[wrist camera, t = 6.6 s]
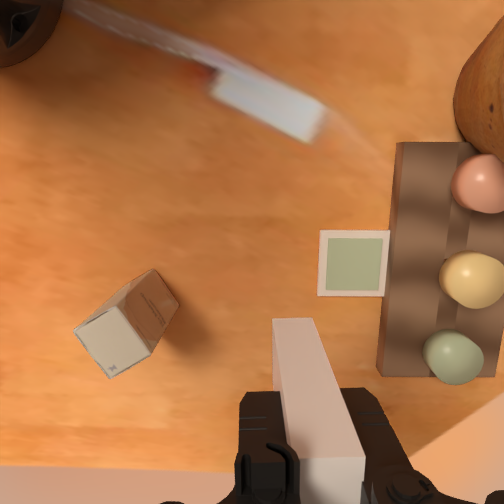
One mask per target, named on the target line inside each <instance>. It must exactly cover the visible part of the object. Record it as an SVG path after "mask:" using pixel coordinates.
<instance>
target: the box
mask: <svg viewBox="0 0 504 504" xmlns="http://www.w3.org/2000/svg"><path fill="white" fill-rule="evenodd" d="M178 307H179V304H178V302H177V301H176V300H175V298H174V297H173V295H172V294H171V292H170V291H169V289H168V288H167V286H166V285H165V283H164V282H163V280H162V279H161V278H160V276H159V275H158V273H157V272H156V271H155V269H152V270H150V271H148V272H146V273H144V274H143V275H141V276H139V277H138V278H136V279H134V280H133V281H131V282H129V283H128V284H126V285H125V286H123V287H122V288H121V289H120V290H119V291H117V292H116V293H115V294H114V295H113V296H112V297H111V298H110V299H109V300H107V301H106V302H105V303H104V304H103V305H102V306H100V307H99V308H98V309H97V310H96V311H95V312H94V313H93V314H91V315H90V316H89V317H88V318H87V319H86V320H84V321H83V322H82V323H81V324H80V325H79V326H77V327H76V328H75V329H74V330H73V332H74V334H75V336H76V337H77V338H78V340H79V341H80V342H81V344H82V345H83V346H84V348H85V349H86V350H87V352H88V353H89V354H90V355H91V357H92V358H93V359H94V360H95V362H96V363H97V364H98V366H99V367H100V368H101V369H102V371H103V372H104V373H105V374H106V376H107V377H108V378H109V379H112V378H114V377H115V376H117V375H119V374H121V373H123V372H124V371H126V370H128V369H129V368H131V367H133V366H135V365H136V364H138V363H139V362H141V361H143V360H144V359H146V358H147V357H149V356H150V355H151V354H152V352H153V350H154V349H155V347H156V345H157V344H158V342H159V340H160V338H161V337H162V335H163V333H164V331H165V330H166V328H167V326H168V324H169V323H170V321H171V319H172V318H173V316H174V314H175V312H176V311H177V309H178Z"/></svg>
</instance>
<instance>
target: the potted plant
mask: <svg viewBox="0 0 504 504" xmlns="http://www.w3.org/2000/svg"><path fill="white" fill-rule="evenodd" d="M453 101H454V110H455V119H456V123H457V125H458V127H459V129H460V131H461V132H462V134H463V136H464V138H465V140H466V141H467V142H471V143H472V145H473V146H474V147H475V148H476V149H478V150H479V151H480V152H481V153H482V154H494V155H496V156H497V157H498V158H499V159H500V160H501V161H502V162H503V163H504V16H503V17H502V18H501V19H500V20H499V21H498V22H497V24H496V25H495V27H494V28H493V29H492V31H491V32H490V33H489V34H488V35H487V37H486V38H485V39H484V40H483V42H482V43H481V44H480V45H479V47H478V48H477V49H476V50H475V52H474V53H473V54H472V55H471V56H470V58H469V59H468V61H467V62H466V63H465V65H464V66H463V68H462V70H461V73H460V75H459V78H458V80H457V84H456V89H455V93H454V98H453Z"/></svg>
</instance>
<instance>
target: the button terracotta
mask: <svg viewBox="0 0 504 504" xmlns="http://www.w3.org/2000/svg"><path fill="white" fill-rule="evenodd" d="M451 191H452V195H453V197H454V199H455V200H456V202H457V203H458V204H459V205H461V206H462V207H464V208H467V209H471V210H475V211H479V212H484V213H499V212H502V211H504V163H503V162H502V161H501V160H500V159H499V158H498V157H497V156H496V155H494V154H481V155H475V156H472V157H470V158H468V159H466V160H465V161H463V162H462V163H461V164H460V165H459V166H458V167H457V169H456V170H455V172H454V174H453V177H452V181H451Z"/></svg>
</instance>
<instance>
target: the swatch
mask: <svg viewBox="0 0 504 504" xmlns="http://www.w3.org/2000/svg"><path fill="white" fill-rule="evenodd" d="M389 239H390V230H320V236H319V257H318V278H317V296H384V293H385V282H386V272H387V261H388V250H389Z"/></svg>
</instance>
